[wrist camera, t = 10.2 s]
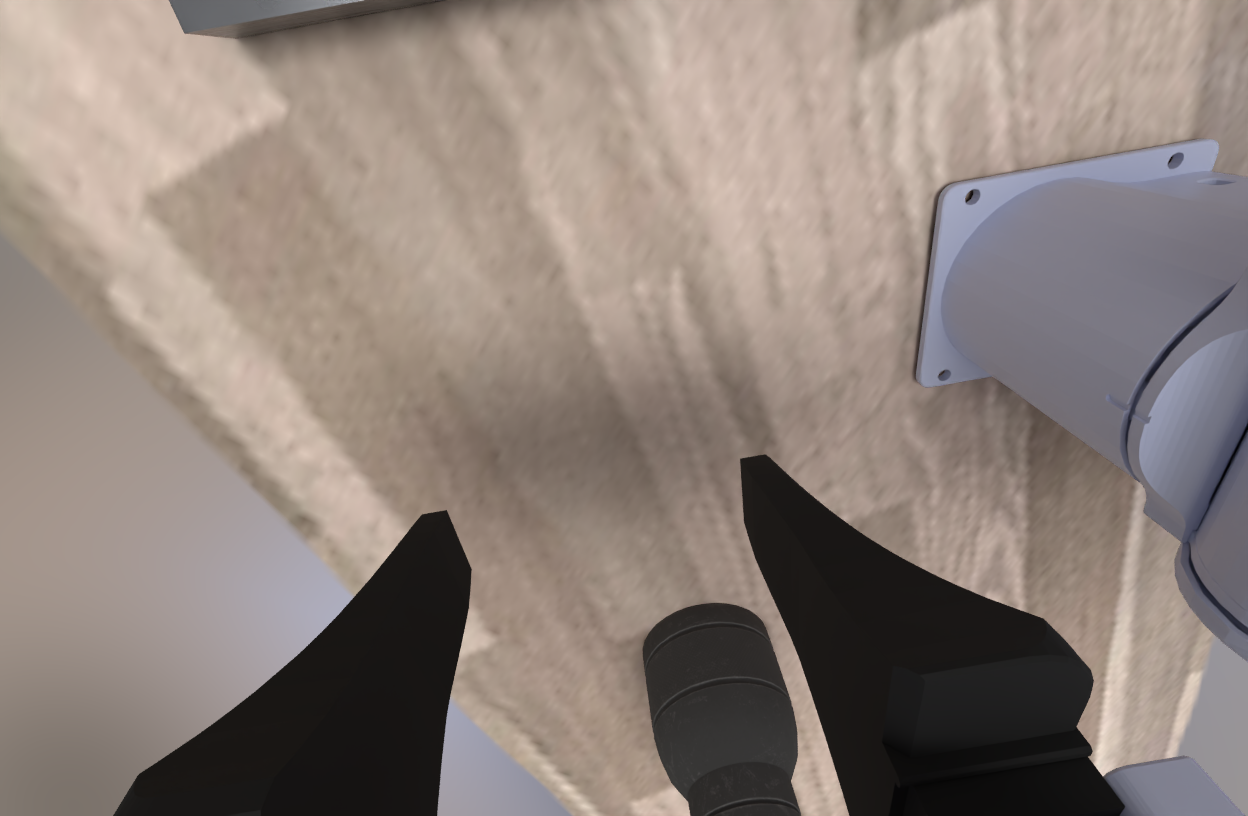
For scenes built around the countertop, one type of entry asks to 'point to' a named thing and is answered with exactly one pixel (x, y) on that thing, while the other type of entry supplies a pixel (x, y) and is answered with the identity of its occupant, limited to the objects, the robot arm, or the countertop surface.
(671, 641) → the flashlight
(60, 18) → the countertop surface
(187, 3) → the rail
